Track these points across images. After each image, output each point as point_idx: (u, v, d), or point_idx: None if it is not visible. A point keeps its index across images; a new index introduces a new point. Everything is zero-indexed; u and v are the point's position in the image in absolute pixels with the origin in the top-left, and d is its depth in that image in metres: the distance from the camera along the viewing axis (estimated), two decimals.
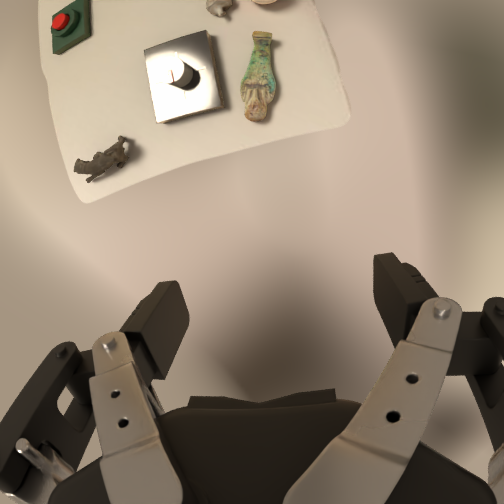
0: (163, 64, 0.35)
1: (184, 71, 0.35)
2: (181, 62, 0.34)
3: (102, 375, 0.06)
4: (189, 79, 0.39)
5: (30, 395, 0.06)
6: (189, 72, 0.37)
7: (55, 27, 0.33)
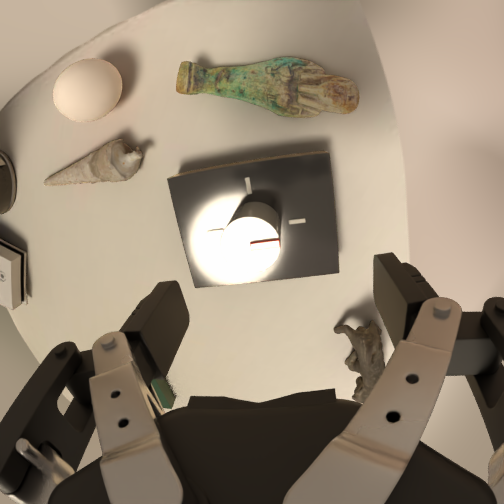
0: (234, 258, 0.22)
1: (258, 216, 0.21)
2: (237, 221, 0.21)
3: (102, 375, 0.06)
4: (269, 208, 0.24)
5: (30, 395, 0.06)
6: (256, 207, 0.23)
7: None
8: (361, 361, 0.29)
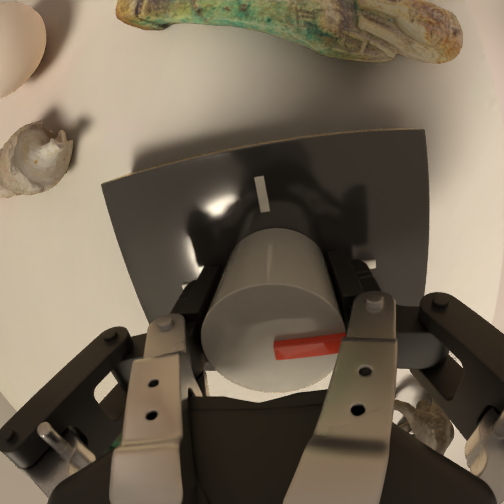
0: (236, 370, 0.09)
1: (294, 280, 0.08)
2: (239, 296, 0.08)
3: (147, 360, 0.06)
4: (309, 244, 0.11)
5: (67, 378, 0.06)
6: (282, 246, 0.10)
7: None
8: None
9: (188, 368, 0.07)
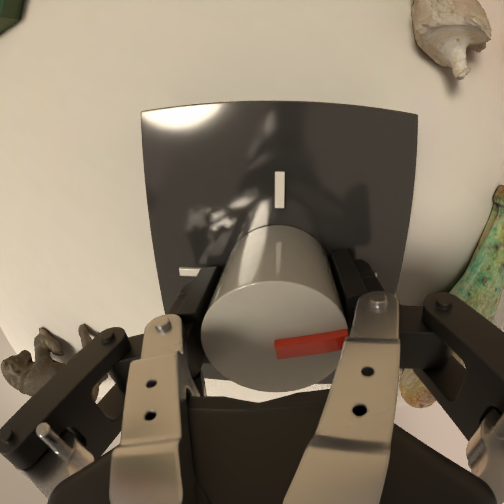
0: (238, 370, 0.09)
1: (293, 276, 0.08)
2: (237, 295, 0.08)
3: (144, 361, 0.06)
4: (308, 240, 0.11)
5: (65, 379, 0.06)
6: (281, 243, 0.10)
7: None
8: None
9: (185, 368, 0.07)
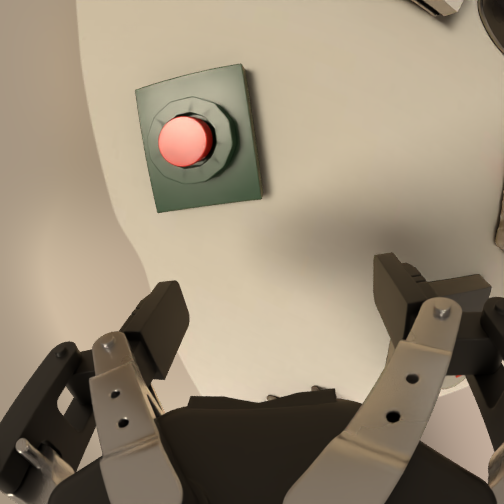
0: (443, 384, 0.23)
1: None
2: None
3: (102, 375, 0.06)
4: None
5: (30, 395, 0.06)
6: None
7: (174, 162, 0.19)
8: None
9: (140, 378, 0.07)
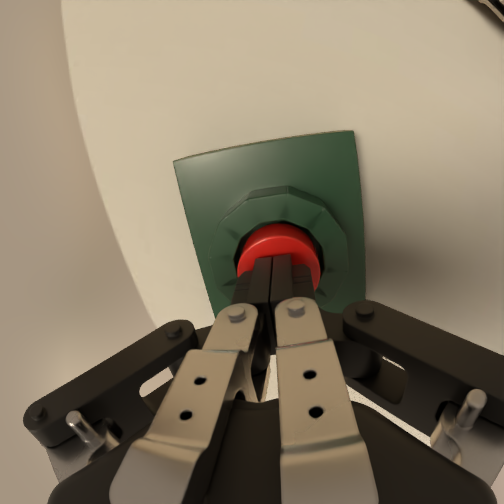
0: None
1: None
2: None
3: (202, 353, 0.06)
4: None
5: (113, 368, 0.07)
6: None
7: None
8: None
9: (245, 368, 0.06)
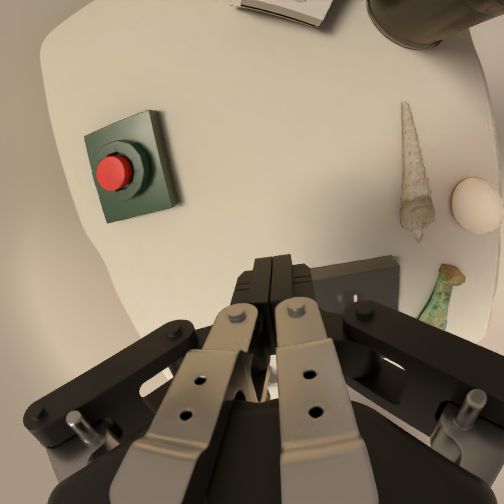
0: None
1: None
2: None
3: (202, 353, 0.06)
4: None
5: (113, 368, 0.07)
6: None
7: (107, 188, 0.27)
8: None
9: (245, 368, 0.06)
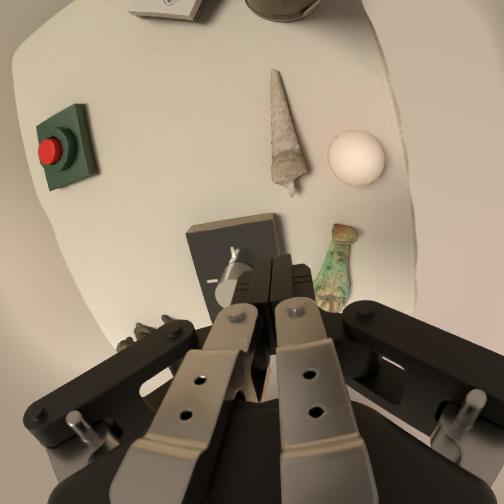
0: (226, 305, 0.34)
1: (233, 278, 0.33)
2: (221, 284, 0.33)
3: (202, 353, 0.06)
4: (243, 266, 0.36)
5: (113, 368, 0.07)
6: (233, 269, 0.35)
7: (44, 162, 0.31)
8: None
9: (245, 368, 0.06)
